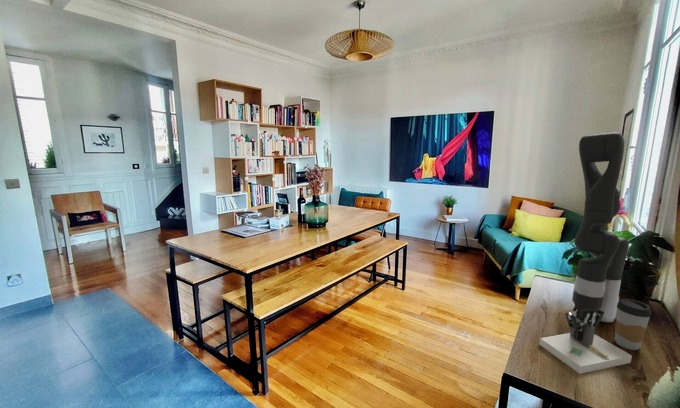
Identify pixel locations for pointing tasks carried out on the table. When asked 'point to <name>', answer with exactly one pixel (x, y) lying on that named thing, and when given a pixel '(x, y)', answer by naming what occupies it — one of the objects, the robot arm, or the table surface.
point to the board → (584, 353)
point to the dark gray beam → (588, 338)
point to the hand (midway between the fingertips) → (581, 339)
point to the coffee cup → (631, 323)
